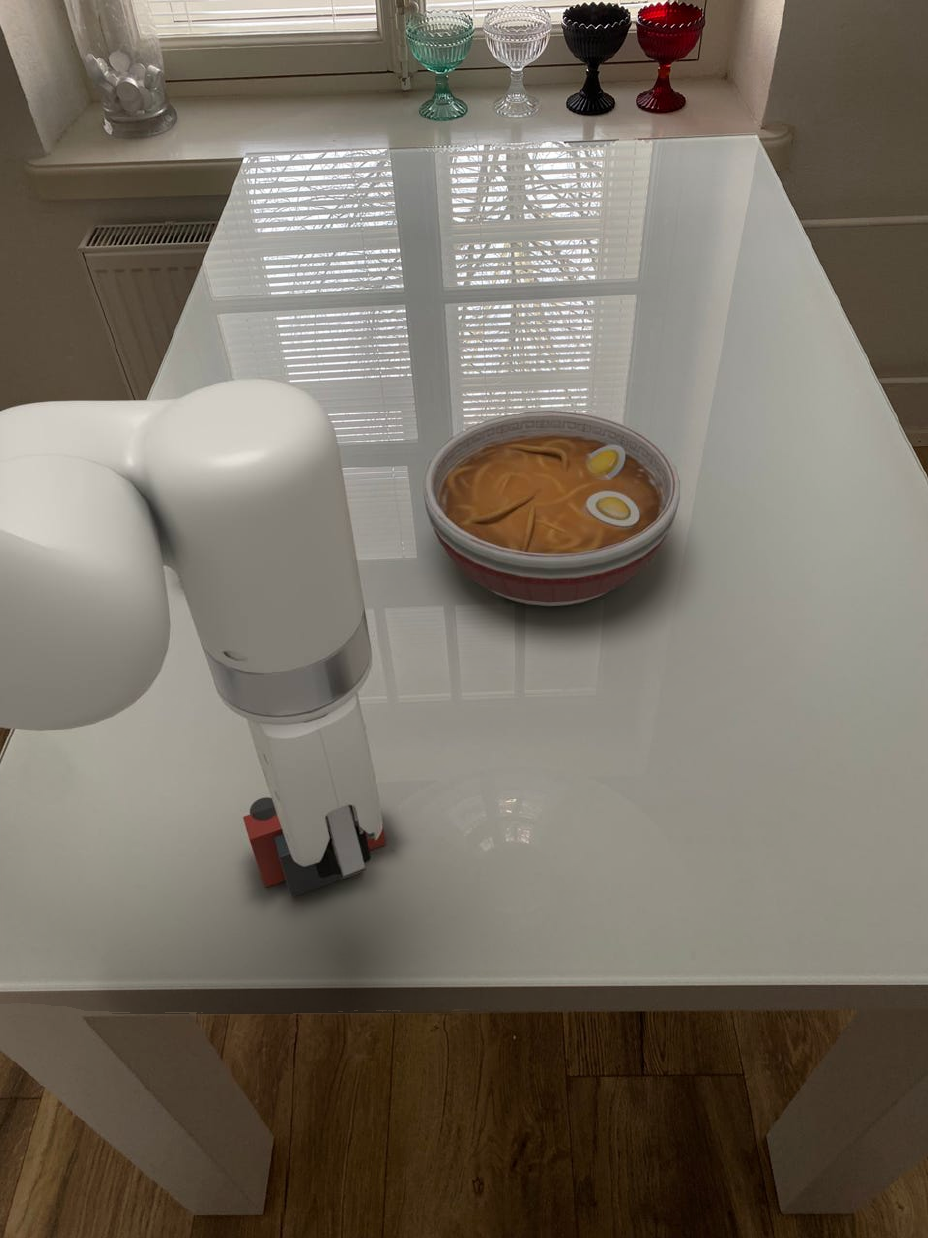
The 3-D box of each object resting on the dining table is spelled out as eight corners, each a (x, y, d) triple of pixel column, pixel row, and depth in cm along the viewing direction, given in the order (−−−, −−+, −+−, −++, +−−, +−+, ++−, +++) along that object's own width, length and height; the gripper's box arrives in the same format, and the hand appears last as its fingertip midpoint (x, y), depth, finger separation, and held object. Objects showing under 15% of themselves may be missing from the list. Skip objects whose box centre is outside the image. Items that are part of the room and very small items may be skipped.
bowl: (698, 525, 95) (712, 440, 89) (620, 678, 81) (630, 589, 74) (490, 472, 103) (489, 390, 96) (385, 602, 89) (375, 516, 82)
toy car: (271, 909, 66) (255, 861, 62) (255, 854, 69) (239, 805, 65) (394, 864, 68) (387, 815, 64) (373, 813, 72) (365, 763, 67)
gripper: (180, 570, 49) (252, 787, 61) (245, 790, 39) (315, 995, 51) (321, 531, 51) (363, 749, 63) (419, 730, 40) (445, 943, 53)
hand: (341, 859), depth 57 cm, fingers closed
